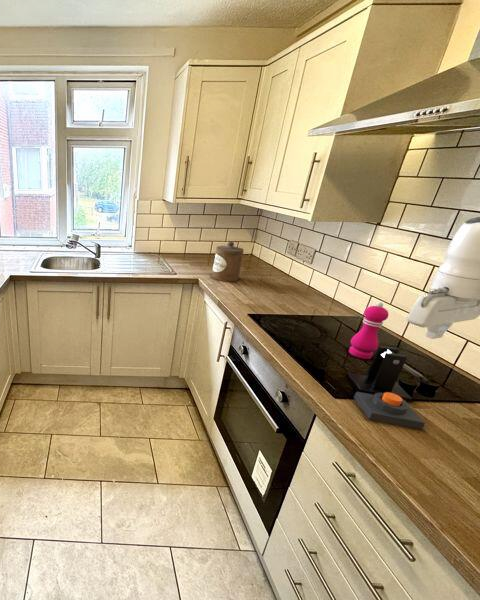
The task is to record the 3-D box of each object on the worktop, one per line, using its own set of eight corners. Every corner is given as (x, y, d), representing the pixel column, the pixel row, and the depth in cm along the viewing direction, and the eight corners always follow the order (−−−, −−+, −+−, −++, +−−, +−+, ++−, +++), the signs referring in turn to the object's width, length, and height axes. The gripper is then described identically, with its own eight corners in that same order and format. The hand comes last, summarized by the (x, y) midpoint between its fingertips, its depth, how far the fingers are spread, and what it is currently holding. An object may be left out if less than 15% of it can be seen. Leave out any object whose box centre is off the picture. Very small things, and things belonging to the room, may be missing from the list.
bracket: (392, 383, 96) (409, 346, 92) (410, 402, 89) (430, 363, 84) (346, 375, 100) (359, 340, 95) (359, 393, 92) (375, 355, 87)
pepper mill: (371, 352, 113) (392, 301, 105) (375, 362, 107) (398, 308, 99) (345, 347, 116) (364, 296, 108) (348, 356, 110) (368, 303, 103)
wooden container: (207, 274, 198) (213, 239, 189) (231, 274, 198) (238, 239, 189) (217, 281, 184) (224, 244, 176) (242, 281, 184) (250, 244, 176)
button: (395, 399, 84) (397, 393, 84) (403, 407, 81) (405, 402, 80) (378, 396, 85) (381, 390, 85) (385, 404, 82) (388, 399, 81)
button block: (401, 406, 87) (407, 394, 85) (422, 429, 79) (428, 417, 77) (353, 397, 90) (358, 386, 89) (368, 419, 82) (374, 407, 81)
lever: (412, 376, 92) (421, 371, 91) (423, 386, 88) (432, 381, 87) (377, 352, 93) (385, 346, 92) (386, 361, 88) (395, 355, 87)
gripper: (446, 294, 69) (419, 348, 74) (505, 286, 74) (476, 338, 79) (411, 285, 75) (389, 336, 80) (468, 278, 80) (444, 327, 85)
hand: (433, 337), depth 80 cm, fingers closed
